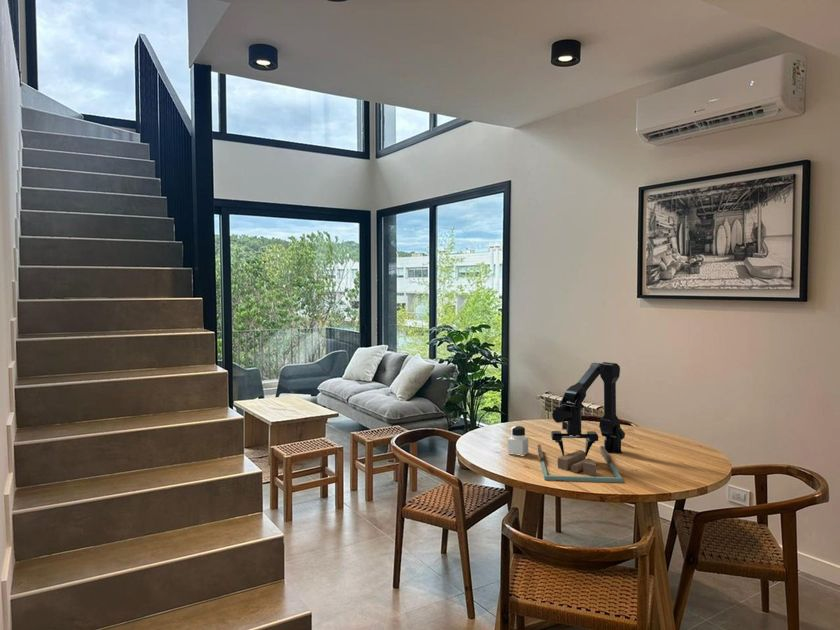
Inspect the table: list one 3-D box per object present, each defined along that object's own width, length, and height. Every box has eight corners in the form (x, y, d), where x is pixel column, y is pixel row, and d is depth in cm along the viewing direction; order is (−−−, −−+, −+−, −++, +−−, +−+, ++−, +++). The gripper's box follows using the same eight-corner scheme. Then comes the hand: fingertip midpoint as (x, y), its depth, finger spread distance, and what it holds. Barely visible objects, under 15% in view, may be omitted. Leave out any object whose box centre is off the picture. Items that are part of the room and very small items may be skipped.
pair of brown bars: (603, 452, 251) (603, 445, 251) (612, 466, 231) (611, 458, 231) (537, 451, 255) (537, 444, 255) (540, 464, 235) (540, 457, 235)
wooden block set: (556, 455, 229) (578, 446, 242) (556, 469, 229) (578, 460, 242) (594, 463, 217) (616, 454, 230) (595, 478, 217) (616, 467, 230)
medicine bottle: (528, 452, 252) (528, 426, 252) (523, 456, 246) (522, 429, 246) (513, 450, 256) (513, 424, 256) (507, 454, 250) (507, 427, 250)
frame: (612, 467, 230) (612, 463, 230) (622, 482, 211) (622, 478, 211) (541, 465, 234) (540, 461, 234) (544, 480, 215) (544, 476, 215)
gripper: (593, 415, 245) (594, 451, 246) (549, 415, 247) (550, 450, 248) (598, 421, 234) (598, 458, 235) (552, 420, 236) (552, 457, 237)
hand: (574, 456), depth 239 cm, fingers open, 9 cm apart
